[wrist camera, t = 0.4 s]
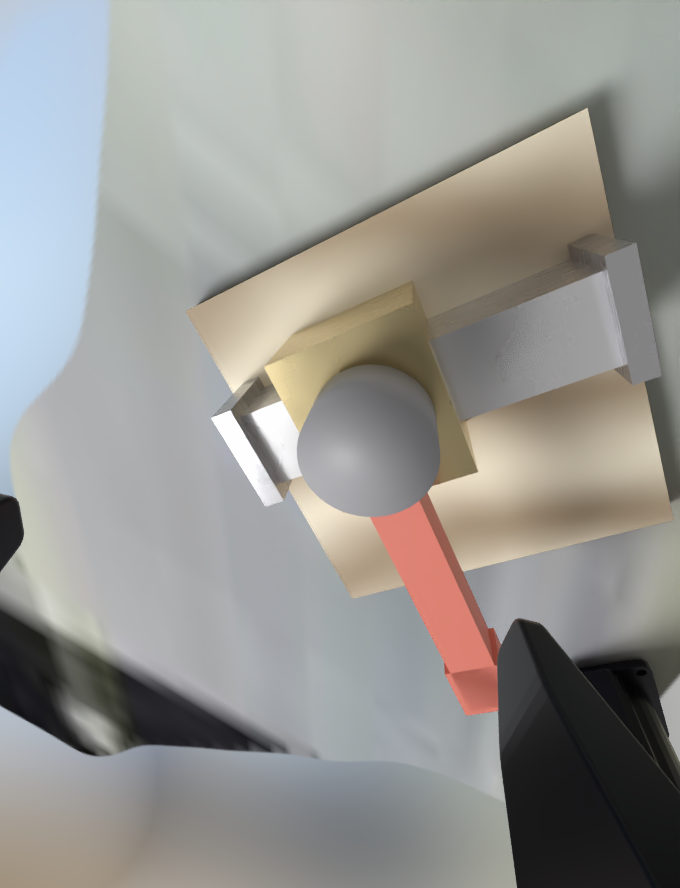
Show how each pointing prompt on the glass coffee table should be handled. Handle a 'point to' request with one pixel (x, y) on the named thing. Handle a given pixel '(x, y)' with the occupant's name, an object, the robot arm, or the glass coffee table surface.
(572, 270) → the valve body
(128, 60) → the glass coffee table surface
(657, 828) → the robot arm
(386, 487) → the lever
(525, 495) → the board
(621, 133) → the glass coffee table surface
